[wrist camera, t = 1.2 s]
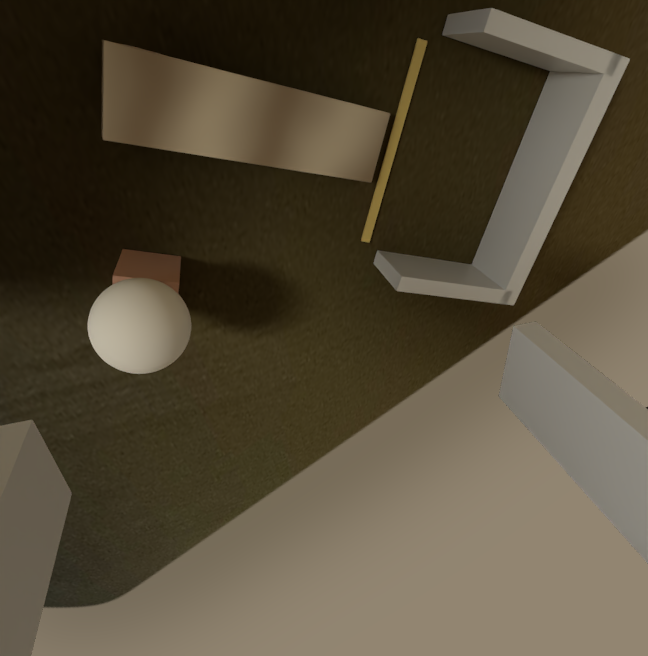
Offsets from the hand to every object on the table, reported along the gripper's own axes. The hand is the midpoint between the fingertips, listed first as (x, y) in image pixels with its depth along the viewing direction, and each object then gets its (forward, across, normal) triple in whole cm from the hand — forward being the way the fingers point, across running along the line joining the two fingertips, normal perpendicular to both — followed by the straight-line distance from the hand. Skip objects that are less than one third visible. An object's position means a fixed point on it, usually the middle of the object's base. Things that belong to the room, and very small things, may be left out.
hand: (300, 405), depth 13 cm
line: (+18, +10, +2) cm, 21 cm away
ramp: (+19, +2, +5) cm, 19 cm away
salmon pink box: (+19, -6, -4) cm, 20 cm away
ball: (+12, -6, -4) cm, 14 cm away
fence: (+18, +15, +1) cm, 24 cm away
